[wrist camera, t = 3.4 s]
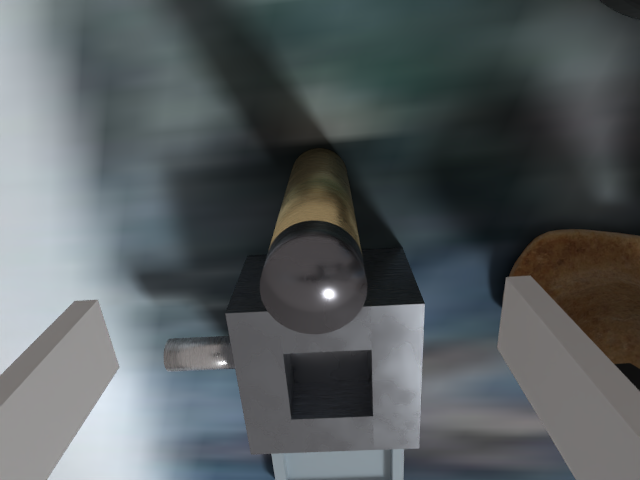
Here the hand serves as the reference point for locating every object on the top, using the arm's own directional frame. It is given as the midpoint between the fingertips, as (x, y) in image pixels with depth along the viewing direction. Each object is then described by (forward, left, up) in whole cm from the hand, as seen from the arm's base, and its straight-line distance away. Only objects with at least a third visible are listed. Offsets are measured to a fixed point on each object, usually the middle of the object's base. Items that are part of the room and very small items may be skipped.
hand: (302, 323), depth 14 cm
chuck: (+12, -3, -18) cm, 22 cm away
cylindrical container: (0, 0, -18) cm, 18 cm away
